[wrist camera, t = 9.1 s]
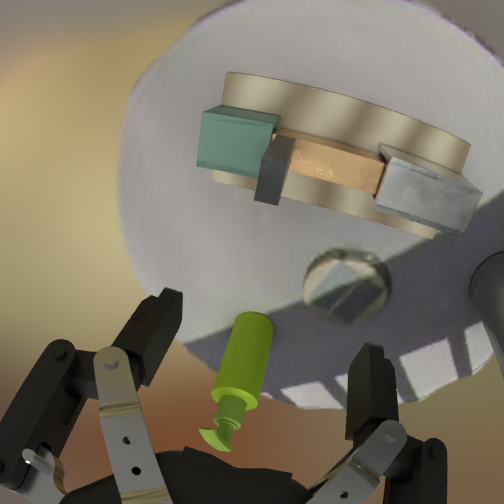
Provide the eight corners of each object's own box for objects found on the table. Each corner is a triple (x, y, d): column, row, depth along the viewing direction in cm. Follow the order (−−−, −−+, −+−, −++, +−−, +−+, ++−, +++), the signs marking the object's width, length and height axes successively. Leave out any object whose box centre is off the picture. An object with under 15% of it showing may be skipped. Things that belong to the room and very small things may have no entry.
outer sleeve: (460, 173, 26) (482, 193, 22) (444, 213, 29) (462, 238, 25) (379, 142, 27) (391, 156, 22) (365, 186, 30) (373, 209, 25)
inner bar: (419, 169, 26) (460, 216, 17) (409, 195, 28) (443, 252, 19) (240, 120, 27) (202, 145, 19) (235, 149, 29) (197, 187, 20)
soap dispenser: (265, 304, 43) (230, 436, 26) (278, 337, 46) (252, 459, 29) (227, 308, 44) (181, 430, 28) (242, 339, 48) (208, 454, 31)
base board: (467, 142, 25) (470, 144, 24) (430, 235, 32) (432, 239, 31) (229, 72, 27) (226, 72, 26) (214, 177, 34) (211, 180, 33)
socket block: (280, 115, 28) (273, 124, 23) (271, 162, 30) (262, 179, 26) (221, 104, 28) (202, 112, 24) (215, 150, 31) (196, 166, 26)
